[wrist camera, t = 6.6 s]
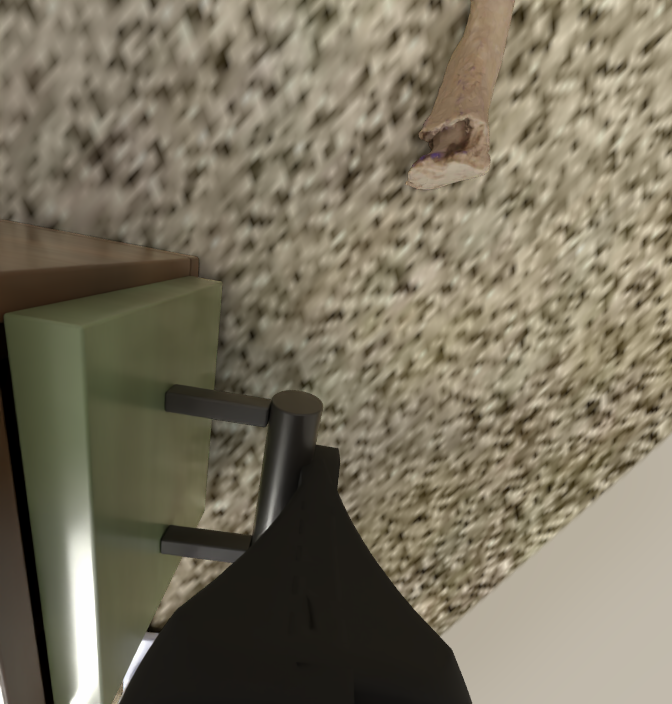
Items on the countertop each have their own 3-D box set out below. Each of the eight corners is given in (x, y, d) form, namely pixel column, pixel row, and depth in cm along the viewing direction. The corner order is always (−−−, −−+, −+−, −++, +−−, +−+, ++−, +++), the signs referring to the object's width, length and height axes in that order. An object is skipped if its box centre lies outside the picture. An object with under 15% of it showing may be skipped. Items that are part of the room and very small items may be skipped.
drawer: (336, 302, 12) (342, 371, 5) (294, 523, 15) (266, 735, 8) (-161, 209, 11) (-944, 148, 4) (-92, 470, 14) (-472, 670, 7)
